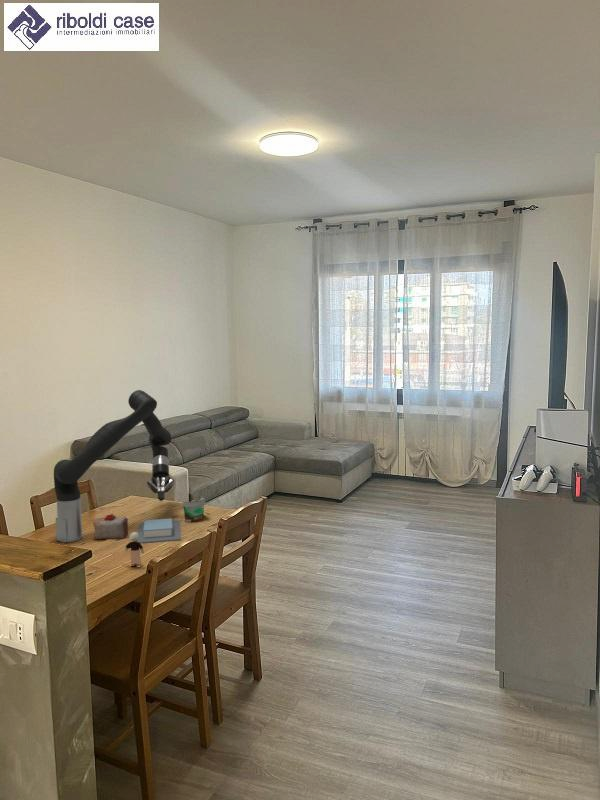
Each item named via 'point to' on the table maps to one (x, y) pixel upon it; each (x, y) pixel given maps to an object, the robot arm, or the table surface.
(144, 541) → the mat
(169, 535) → the book
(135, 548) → the grandmother figurine
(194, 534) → the table surface
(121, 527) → the food item
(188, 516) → the food container
